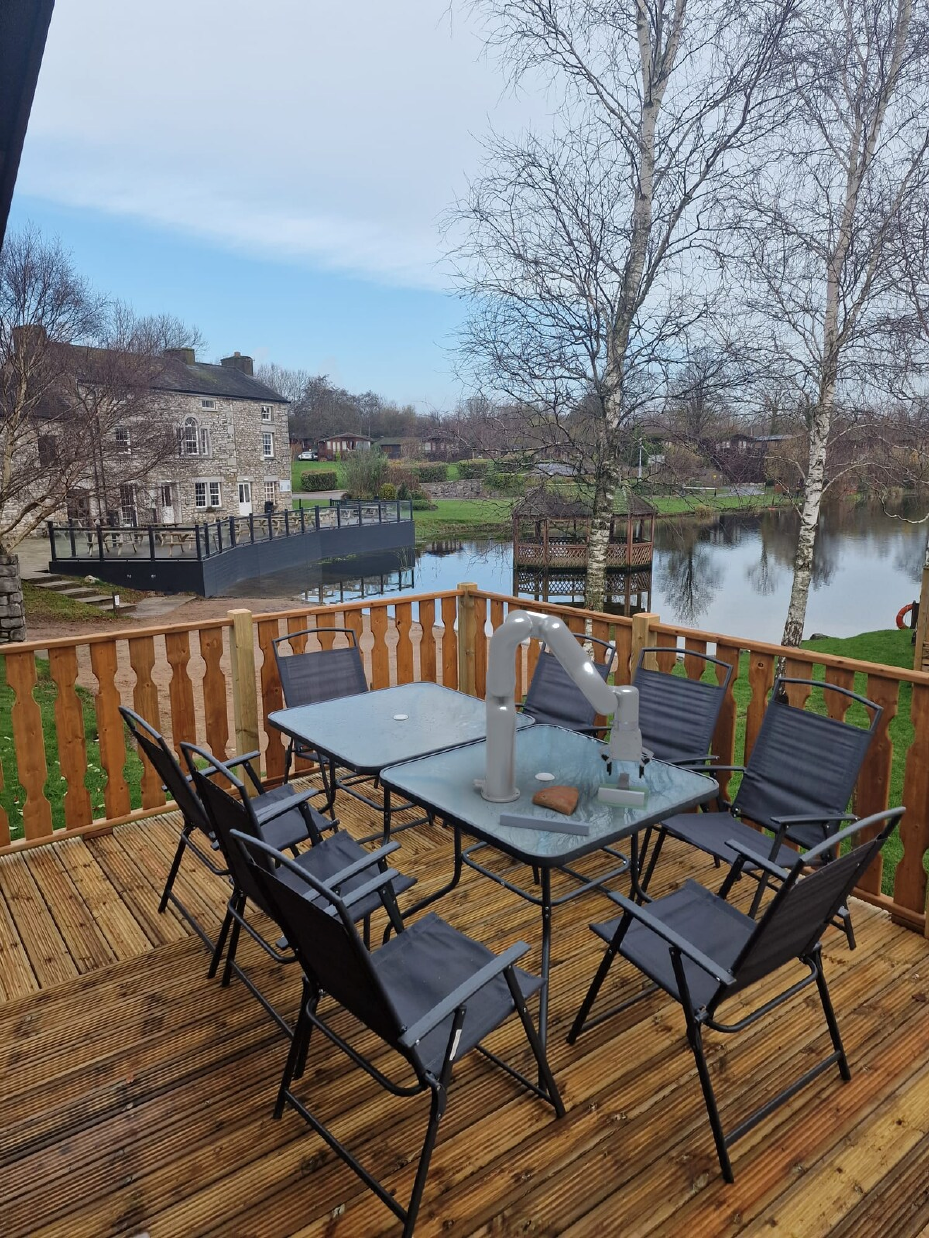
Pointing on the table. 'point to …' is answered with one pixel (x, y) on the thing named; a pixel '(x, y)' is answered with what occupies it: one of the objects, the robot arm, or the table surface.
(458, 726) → the table surface
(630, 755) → the robot arm
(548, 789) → the ceramic shard
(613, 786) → the mat
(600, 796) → the scraper
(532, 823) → the board
